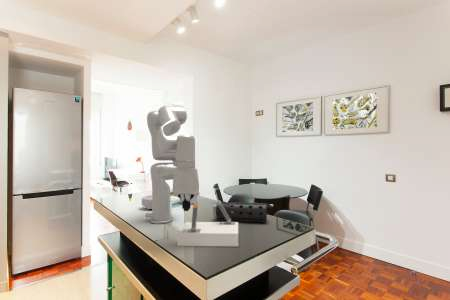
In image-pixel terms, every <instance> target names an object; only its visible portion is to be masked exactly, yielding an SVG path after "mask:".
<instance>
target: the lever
mask: <svg viewBox="0 0 450 300" xmlns="http://www.w3.org/2000/svg"><path fill="white" fill-rule="evenodd" d="M220 201H221V200H220V199H218V200H217V201H216V203H217V205H218V206H219V208H220V210H221V212H222V213H223V215H224V217H225V218H226V219H225V221H226V220H227V221H226V222H227V223H228V224H230V223H231V222H232V221H231V218H230V217H229V215H228V214H227V212H226V210H225V208H224V207H223V205H222V203H221V202H220Z"/></svg>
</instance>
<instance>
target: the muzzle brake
mask: <svg viewBox="0 0 450 300" xmlns="http://www.w3.org/2000/svg"><path fill="white" fill-rule="evenodd" d="M216 202H217V201H216ZM216 202H214V203H213V209H212V216H213V218H214V219H217V220H225V222H227V220H226V218H225V217H224V215H223V213H222V212H221V210H220V208H219V206H218V205H217V203H216ZM220 202H221V203H222V205H223V207H224V208H225V210H226V212H227V214H228V215H229V217H230V218H231V222H233V221H243V222H250V223H251V222H253V223H266V222H267V220H268V206H267V205H268V204H267V203H266V202H260V203H259V202H235V201H233V202H231V201H229V202H227V201H221V200H220Z"/></svg>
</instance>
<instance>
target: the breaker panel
mask: <svg viewBox="0 0 450 300" xmlns="http://www.w3.org/2000/svg"><path fill="white" fill-rule="evenodd" d="M196 226H197V227H196V229H195V231H191V228H192V221H186V222H185V223H184V224H183V225H182V227H181V228H180V229H179V231H178V232H177V234H176V235H177V236H176V237H177V240H176V241H177V247H239V222H238V221H231V223H230V224H228V223H227V221H197V222H196Z"/></svg>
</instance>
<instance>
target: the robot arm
mask: <svg viewBox="0 0 450 300" xmlns="http://www.w3.org/2000/svg"><path fill="white" fill-rule="evenodd" d="M187 119H188V115H187V110H186V109H185V108H184V107H182V106H172V105H171V106H170V105H165V106H161V107H160V108H159V109H158V110H152V111H149V112H148V114H147V116H146V122H147V128H148V131H149V133H150V138H151V154H152V157H153V159H154V160H155V161H160V162H156V163H153V164H152V165H150V171H149V172H150V178H151V179H150V180H151V191H152V194H151V195H152V210H151V212H146V213H145V215H144V217H145V218H149V223H150V222H151V224H155V225H156V224H157V225H159V224H167V223H168V224H169V223H171V222H173V221H174V217H173V216H171V187H170V185H169V184H168V183H167V182H166V181H171V180H172V196H173V197H177V198H179V200H180V199H181V201H182V204H181V205H182V207H181V208H182V210H183V212H188V211H190V209H191V204H190V200H191V199H192V198H193V197H196V196H197V197H199V196H200V191H199V190H200V183H199V173H198V169H197V168H196V138H195V137H194V135H192V134H191V135H190V134H180V135H175V134H176V133H178V132H179V131H180V130H181V126H182V125H183V124H185V123H186V121H187ZM161 161H172V162H161ZM185 194H188V196H187V201H186V198H185Z"/></svg>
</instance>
